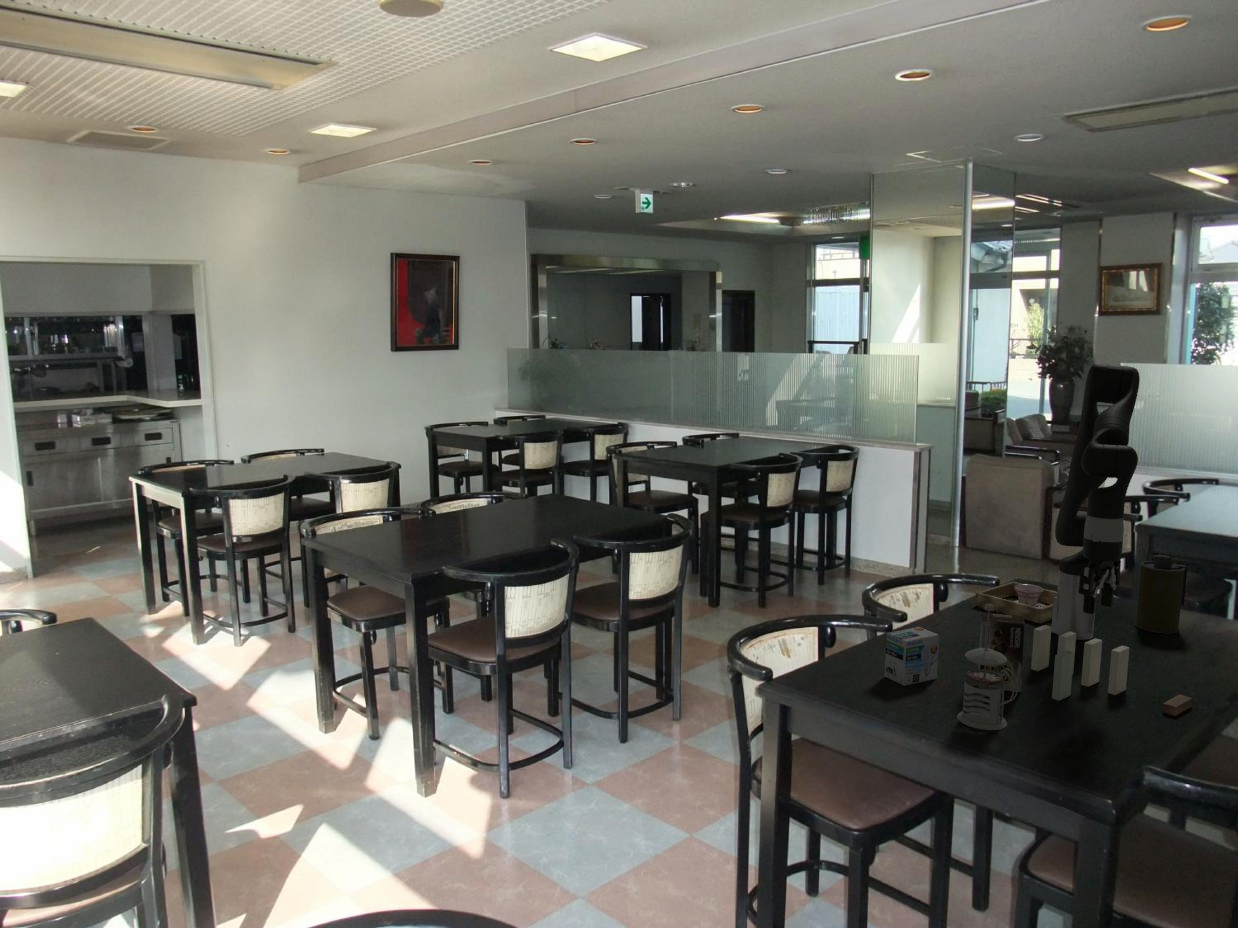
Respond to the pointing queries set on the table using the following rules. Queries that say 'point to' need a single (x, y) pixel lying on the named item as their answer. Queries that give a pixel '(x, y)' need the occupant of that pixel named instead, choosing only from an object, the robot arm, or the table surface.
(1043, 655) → the domino
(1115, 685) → the domino
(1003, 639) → the coffee box
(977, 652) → the french press
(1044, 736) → the table surface
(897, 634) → the light bulb box
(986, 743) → the table surface
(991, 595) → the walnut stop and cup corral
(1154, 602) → the canister
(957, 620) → the table surface
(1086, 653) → the domino
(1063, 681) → the sage domino
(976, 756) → the table surface
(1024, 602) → the teacup
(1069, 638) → the domino
